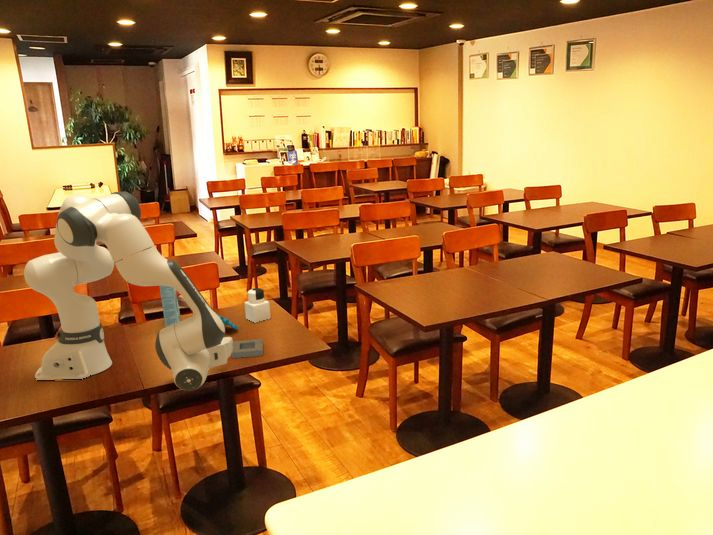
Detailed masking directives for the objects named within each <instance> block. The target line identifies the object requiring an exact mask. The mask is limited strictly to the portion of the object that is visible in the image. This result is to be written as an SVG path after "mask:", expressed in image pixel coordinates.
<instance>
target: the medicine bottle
mask: <svg viewBox="0 0 713 535" xmlns="http://www.w3.org/2000/svg"><path fill="white" fill-rule="evenodd" d="M247 298H248V301H244V312H245V313H244V314H245V319H246V320H247V319H248V320H247V321H249V320H250V321H249V322H251V321H252V322H251V323H253V322H254V324H257V323H256V322H258V323H260V322H259V321H262V322H264V321H263V320H265V321H267V320H266V319H268V320H270V318H271V317H272V316H271V307H270V301H269V300H266V299H265V290H264V289H263V288H258V287H257V288H251V289H249V290H248V291H247Z"/></svg>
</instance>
